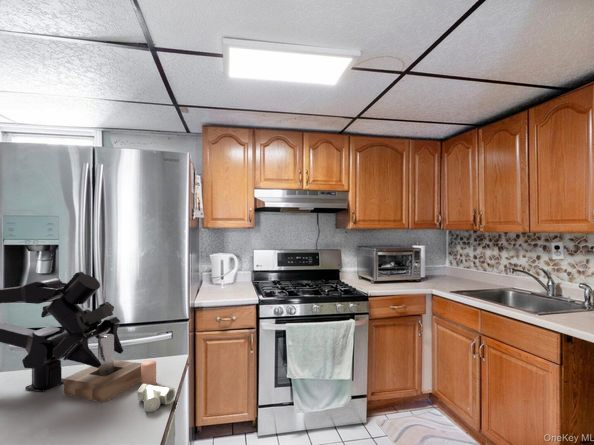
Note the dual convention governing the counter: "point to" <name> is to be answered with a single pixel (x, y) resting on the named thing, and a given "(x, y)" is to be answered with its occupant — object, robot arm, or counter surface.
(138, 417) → the counter surface
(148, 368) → the short terracotta pin
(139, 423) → the counter surface
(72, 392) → the walnut block
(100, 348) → the tall metal pin
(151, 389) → the pipe fitting
